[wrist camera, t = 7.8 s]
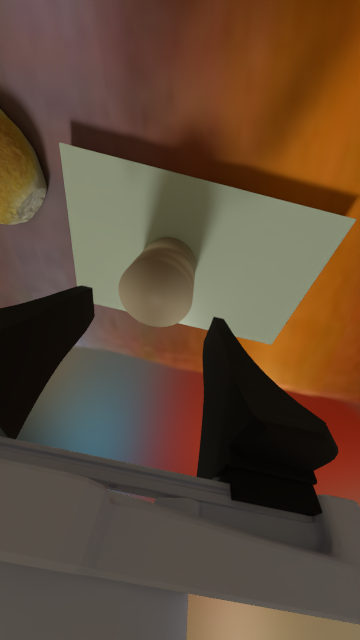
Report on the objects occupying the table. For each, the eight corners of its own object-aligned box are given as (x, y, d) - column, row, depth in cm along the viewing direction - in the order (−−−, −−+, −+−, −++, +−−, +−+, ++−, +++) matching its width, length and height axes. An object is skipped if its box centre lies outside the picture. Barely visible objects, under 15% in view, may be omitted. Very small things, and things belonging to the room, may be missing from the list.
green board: (344, 216, 15) (356, 219, 14) (267, 336, 23) (271, 344, 22) (71, 146, 15) (59, 142, 13) (86, 293, 22) (79, 300, 21)
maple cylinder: (203, 246, 16) (203, 273, 11) (187, 296, 19) (181, 334, 14) (146, 229, 16) (120, 249, 11) (138, 282, 19) (116, 316, 14)
